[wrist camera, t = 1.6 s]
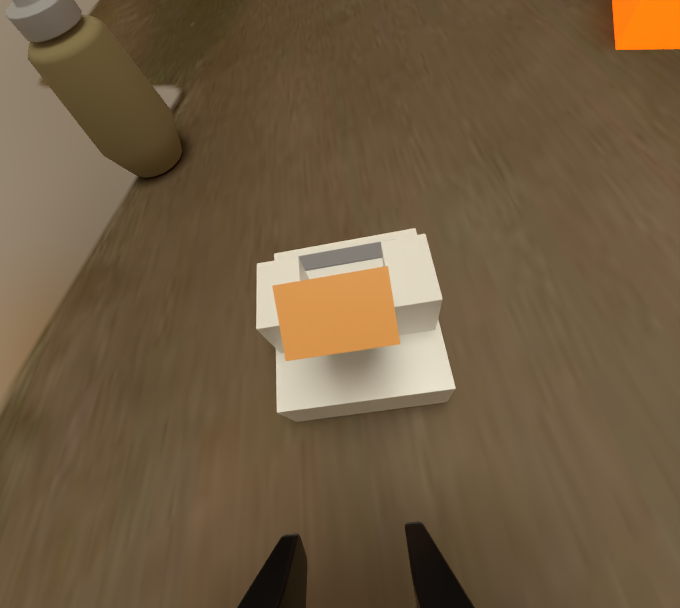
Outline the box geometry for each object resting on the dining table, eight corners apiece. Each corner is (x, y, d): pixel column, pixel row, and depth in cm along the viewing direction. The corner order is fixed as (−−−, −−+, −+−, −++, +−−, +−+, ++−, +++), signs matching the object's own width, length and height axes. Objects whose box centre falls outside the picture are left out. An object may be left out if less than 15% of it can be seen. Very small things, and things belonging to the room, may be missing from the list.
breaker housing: (446, 402, 22) (467, 368, 15) (295, 421, 23) (249, 399, 16) (413, 260, 27) (417, 184, 20) (290, 281, 28) (252, 216, 21)
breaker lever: (387, 317, 21) (400, 344, 12) (320, 327, 22) (285, 361, 13) (380, 272, 21) (387, 265, 12) (313, 283, 21) (272, 285, 12)
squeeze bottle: (118, 194, 36) (-104, -24, 20) (128, 143, 40) (-53, -76, 24) (191, 177, 36) (21, -63, 20) (194, 126, 39) (53, -110, 23)
